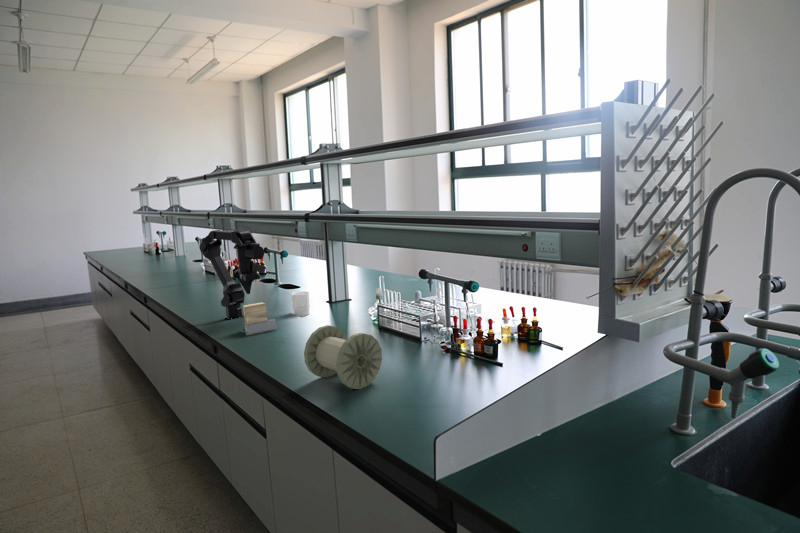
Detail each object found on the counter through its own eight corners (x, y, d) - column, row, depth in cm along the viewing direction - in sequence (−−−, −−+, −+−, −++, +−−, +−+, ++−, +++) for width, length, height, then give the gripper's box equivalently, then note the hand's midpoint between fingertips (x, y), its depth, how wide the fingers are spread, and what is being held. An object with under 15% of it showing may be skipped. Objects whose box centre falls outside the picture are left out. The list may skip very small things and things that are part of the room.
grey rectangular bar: (245, 334, 203) (244, 324, 203) (275, 328, 210) (274, 318, 209) (247, 335, 201) (246, 325, 200) (277, 329, 208) (276, 319, 207)
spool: (306, 382, 150) (301, 332, 148) (347, 367, 161) (343, 320, 158) (342, 396, 139) (337, 341, 136) (383, 379, 149) (379, 328, 147)
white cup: (301, 317, 229) (299, 295, 228) (289, 316, 234) (287, 294, 233) (314, 313, 235) (312, 292, 234) (302, 312, 240) (300, 290, 239)
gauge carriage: (241, 330, 209) (238, 306, 207) (265, 326, 214) (262, 302, 212) (244, 332, 205) (241, 308, 204) (268, 327, 211) (265, 303, 209)
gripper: (269, 258, 223) (273, 293, 225) (256, 255, 238) (259, 288, 240) (243, 261, 217) (248, 298, 219) (231, 258, 232) (235, 292, 234)
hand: (248, 294), depth 228 cm, fingers closed
